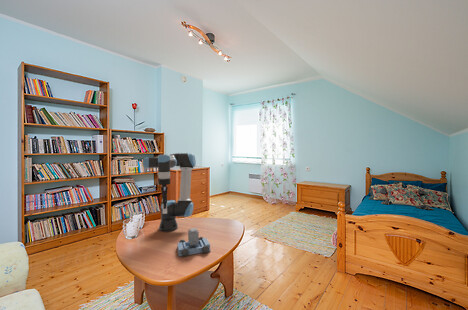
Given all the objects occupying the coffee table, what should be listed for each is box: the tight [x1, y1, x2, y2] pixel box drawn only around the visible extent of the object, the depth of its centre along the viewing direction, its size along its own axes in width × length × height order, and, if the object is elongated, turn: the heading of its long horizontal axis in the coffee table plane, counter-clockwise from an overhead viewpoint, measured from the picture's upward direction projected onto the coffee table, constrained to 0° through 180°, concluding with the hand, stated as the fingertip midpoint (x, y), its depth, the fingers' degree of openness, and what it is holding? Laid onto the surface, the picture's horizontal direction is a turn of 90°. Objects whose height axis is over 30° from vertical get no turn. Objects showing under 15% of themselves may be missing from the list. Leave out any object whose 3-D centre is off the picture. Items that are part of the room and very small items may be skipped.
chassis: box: [176, 236, 211, 258], centre depth 140 cm, size 16×20×4 cm
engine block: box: [187, 227, 200, 249], centre depth 140 cm, size 6×6×12 cm
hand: (164, 210), depth 138 cm, fingers open, 13 cm apart
